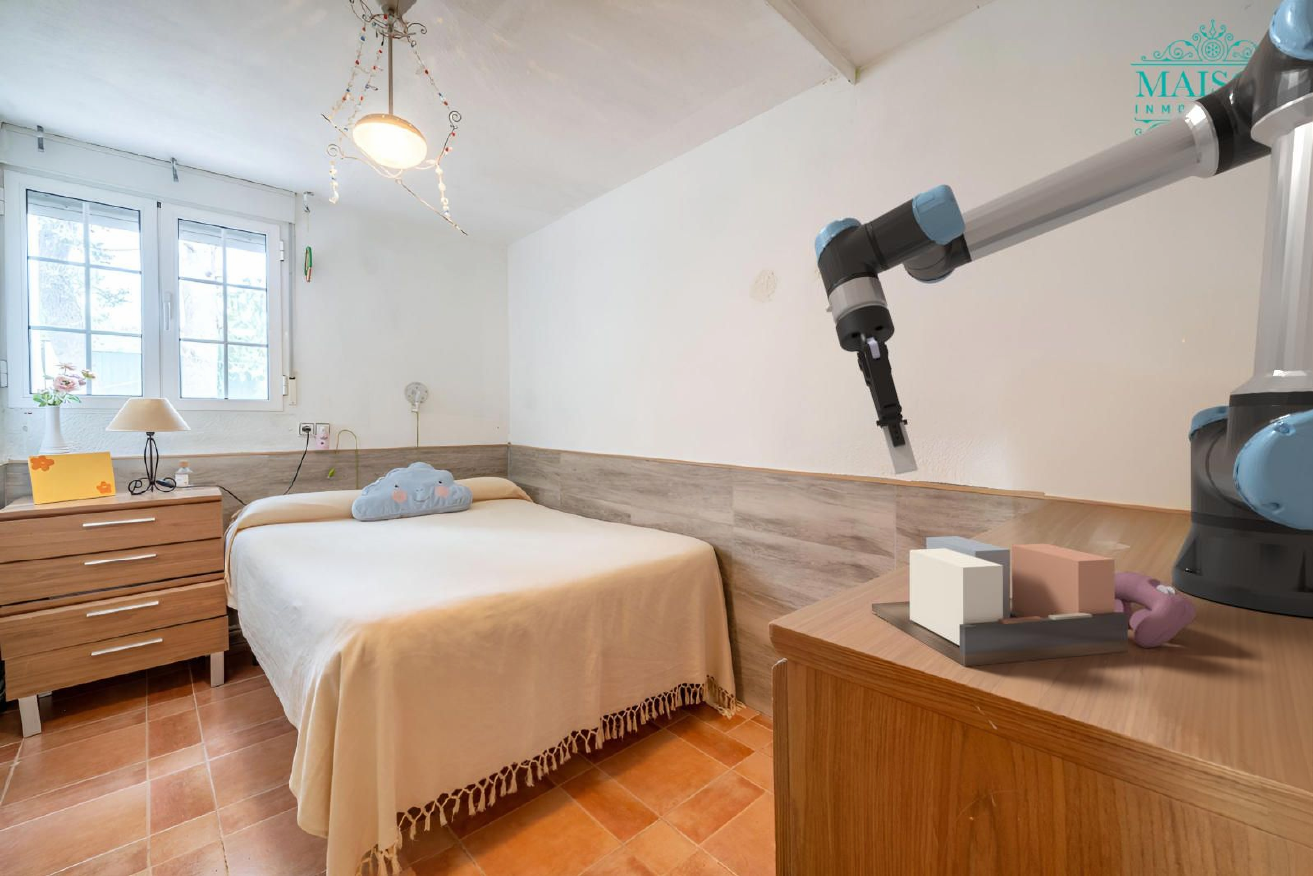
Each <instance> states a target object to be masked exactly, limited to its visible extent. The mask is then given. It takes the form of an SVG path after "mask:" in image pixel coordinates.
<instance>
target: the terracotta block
mask: <svg viewBox="0 0 1313 876" xmlns="http://www.w3.org/2000/svg"><path fill="white" fill-rule="evenodd" d="M1011 561H1012V562H1011V579H1012V580H1011V583H1012V584H1011V588H1012V589H1011V591H1012V595H1011V596H1012V597H1011V598H1012V612H1015V613H1017V614H1020V615H1022V616H1025V617H1033V616H1038V617H1040V618H1048V615H1059V614H1073V613H1088V614H1101V613H1114V612H1115V572H1116V570H1115V558H1111V557H1105V556H1101V555H1097V554H1093V553H1088V552H1084V551H1079V550H1075V549H1070V548H1066V547H1062V546H1056V545H1052V544H1048V543H1028V544H1011Z"/></svg>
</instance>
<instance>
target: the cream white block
mask: <svg viewBox="0 0 1313 876" xmlns="http://www.w3.org/2000/svg"><path fill="white" fill-rule="evenodd" d="M909 601H910V619H911V620H912V621H914V622H916V623H918V624H920V625H922V626H924V627H926V628H927V629H929V630H931V631H933V632H935V633H937V634H939V635H941V636H943V637H944V638H946V639H948V640H950V641H952V642H954V643H956V644H958V645H959V646H960V624H972V623H984V622H997V621H998V619H1003V565H1000V564H996V563H993V562H989V561H986V560H983V559H979V558H976V557H972V556H969V555H966V554H962V553H959V552H955V551H952V550H949V549H945V548H941V549H925V548H924V549H910V550H909Z"/></svg>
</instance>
